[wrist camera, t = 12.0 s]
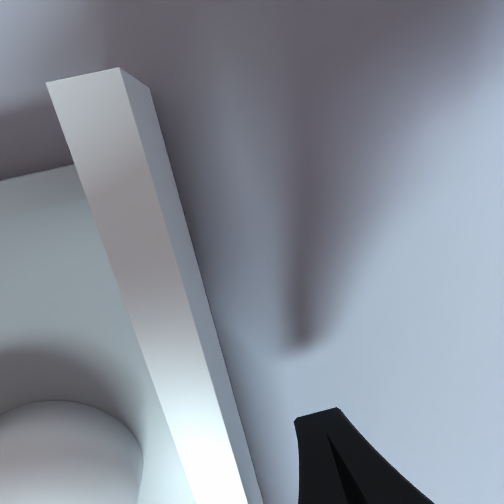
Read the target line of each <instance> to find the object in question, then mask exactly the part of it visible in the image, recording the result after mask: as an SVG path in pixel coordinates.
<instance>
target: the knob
mask: <svg viewBox="0 0 504 504" xmlns="http://www.w3.org/2000/svg"><path fill="white" fill-rule="evenodd" d="M142 474H143V456H142V451H141V449H140V446H139V444H138V442H137V440H136V438H135V437H134V435H133V434H132V433H131V432H130V430H129V429H128V428H127V427H126V426H125V425H124V424H123V423H121V422H120V421H119V420H117V419H116V418H115V417H113V416H111V415H110V414H108V413H106V412H104V411H102V410H100V409H97V408H95V407H92V406H89V405H85V404H81V403H76V402H69V401H42V402H35V403H30V404H26V405H22V406H20V407H17V408H14V409H12V410H10V411H8V412H5V413H4V414H2V415H1V416H0V504H137V502H138V496H139V491H140V485H141V480H142Z"/></svg>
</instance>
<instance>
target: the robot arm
mask: <svg viewBox="0 0 504 504" xmlns="http://www.w3.org/2000/svg"><path fill="white" fill-rule="evenodd" d="M294 425H295V430H296V435H297V439H298V449H299V499H298V504H435V503H433V502H432V501H431V500H430V499H428V498H427V497H426V496H425V495H424V494H423V493H421V492H420V491H419V490H418V489H417V488H416V487H414V486H413V485H412V484H411V483H410V482H409V481H408V480H407V479H405V478H404V477H403V476H402V475H401V474H400V473H399V472H398V471H397V470H396V469H395V468H394V467H393V466H391V465H390V464H389V463H388V462H387V461H386V460H385V459H384V458H383V457H382V456H381V455H380V454H379V453H378V452H377V451H376V450H375V449H374V448H373V447H372V446H371V445H370V443H369V442H368V441H367V440H366V439H365V438H364V437H363V436H362V435H361V434H360V433H359V432H358V430H357V429H356V428H355V427H354V426H353V425H352V423H351V422H350V421H349V420H348V419H347V417H346V416H345V415H344V414H343V412H342V411H341V410H340V409H339V408H337V407H336V408H332V409H328V410H324V411H320V412H316V413H313V414H309V415H305V416H301V417H297V418H296V419H295V421H294Z"/></svg>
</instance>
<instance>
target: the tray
mask: <svg viewBox="0 0 504 504" xmlns="http://www.w3.org/2000/svg"><path fill="white" fill-rule="evenodd" d="M45 83H46V86H47V89H48V91H49V94H50V97H51V100H52V103H53V105H54V108H55V111H56V114H57V117H58V119H59V122H60V125H61V128H62V130H63V133H64V136H65V139H66V142H67V144H68V147H69V150H70V153H71V156H72V158H73V161H74V164H71V165H67V166H62V167H58V168H53V169H49V170H44V171H40V172H35V173H31V174H26V175H22V176H17V177H13V178H8V179H4V180H0V416H1V415H2V414H4V413H5V412H8V411H10V410H12V409H14V408H17V407H20V406H22V405H26V404H30V403H35V402H42V401H69V402H76V403H81V404H85V405H89V406H92V407H95V408H97V409H100V410H102V411H104V412H106V413H108V414H110V415H111V416H113V417H115V418H116V419H117V420H119V421H120V422H121V423H123V424H124V425H125V426H126V427H127V428H128V429H129V430H130V432H131V433H132V434H133V435H134V437H135V438H136V440H137V442H138V444H139V446H140V449H141V451H142V456H143V474H142V480H141V485H140V491H139V496H138V502H137V504H263V500H262V496H261V493H260V489H259V485H258V482H257V478H256V474H255V471H254V467H253V464H252V460H251V456H250V453H249V449H248V445H247V442H246V438H245V434H244V431H243V427H242V424H241V420H240V416H239V413H238V409H237V405H236V402H235V398H234V394H233V391H232V387H231V383H230V380H229V376H228V373H227V369H226V365H225V362H224V358H223V354H222V351H221V347H220V343H219V340H218V336H217V333H216V329H215V325H214V322H213V318H212V314H211V311H210V307H209V303H208V300H207V296H206V293H205V289H204V285H203V282H202V278H201V274H200V271H199V267H198V263H197V260H196V256H195V252H194V249H193V245H192V242H191V238H190V234H189V231H188V227H187V223H186V220H185V216H184V212H183V209H182V205H181V202H180V198H179V194H178V191H177V187H176V183H175V180H174V176H173V172H172V169H171V165H170V161H169V158H168V154H167V151H166V147H165V143H164V140H163V136H162V132H161V129H160V125H159V121H158V118H157V114H156V111H155V107H154V103H153V100H152V96H151V92H150V89H149V87H147V86H146V85H144V84H143V83H142V82H140V81H139V80H137V79H136V78H134V77H133V76H131V75H130V74H129V73H127V72H126V71H124V70H123V69H121V68H120V67H117V68H112V69H107V70H103V71H98V72H93V73H88V74H83V75H79V76H74V77H69V78H64V79H60V80H55V81H50V82H45Z"/></svg>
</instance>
